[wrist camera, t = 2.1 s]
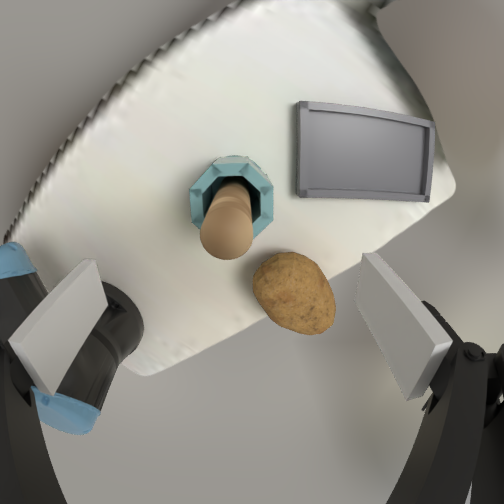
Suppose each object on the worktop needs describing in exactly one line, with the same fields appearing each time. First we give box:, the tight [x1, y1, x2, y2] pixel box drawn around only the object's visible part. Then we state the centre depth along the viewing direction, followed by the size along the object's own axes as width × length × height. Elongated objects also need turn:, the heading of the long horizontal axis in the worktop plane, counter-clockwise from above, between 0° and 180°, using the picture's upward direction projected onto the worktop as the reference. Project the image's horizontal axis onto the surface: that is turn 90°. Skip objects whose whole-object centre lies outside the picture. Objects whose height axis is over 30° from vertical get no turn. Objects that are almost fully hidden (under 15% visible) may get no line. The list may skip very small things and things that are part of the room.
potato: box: [253, 252, 336, 335], centre depth 37 cm, size 10×14×8 cm
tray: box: [296, 101, 435, 202], centre depth 32 cm, size 20×12×2 cm, turn 91°
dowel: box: [200, 176, 253, 260], centre depth 26 cm, size 4×4×17 cm
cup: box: [189, 155, 273, 239], centre depth 31 cm, size 8×8×10 cm
